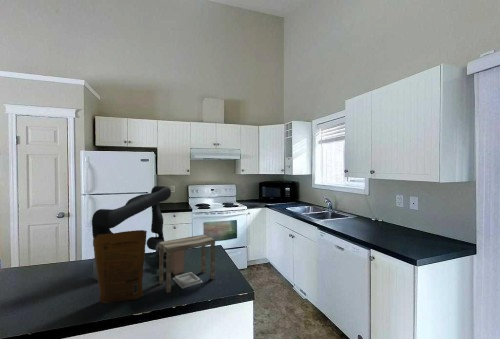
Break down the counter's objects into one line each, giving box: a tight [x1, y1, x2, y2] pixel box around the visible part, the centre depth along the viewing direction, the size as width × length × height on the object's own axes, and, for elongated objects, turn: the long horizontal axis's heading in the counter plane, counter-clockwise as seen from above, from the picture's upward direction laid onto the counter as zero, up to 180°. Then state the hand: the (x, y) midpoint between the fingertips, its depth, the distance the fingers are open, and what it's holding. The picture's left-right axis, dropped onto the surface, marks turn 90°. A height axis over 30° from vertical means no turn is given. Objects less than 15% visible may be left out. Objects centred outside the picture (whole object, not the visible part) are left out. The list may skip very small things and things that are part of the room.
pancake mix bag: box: [92, 229, 148, 304], centre depth 100 cm, size 7×19×28 cm, turn 106°
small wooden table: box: [158, 234, 216, 294], centre depth 117 cm, size 12×23×19 cm, turn 127°
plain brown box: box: [171, 250, 185, 276], centre depth 129 cm, size 7×5×12 cm
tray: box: [172, 271, 204, 289], centre depth 117 cm, size 12×10×2 cm
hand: (173, 256), depth 132 cm, fingers open, 8 cm apart
